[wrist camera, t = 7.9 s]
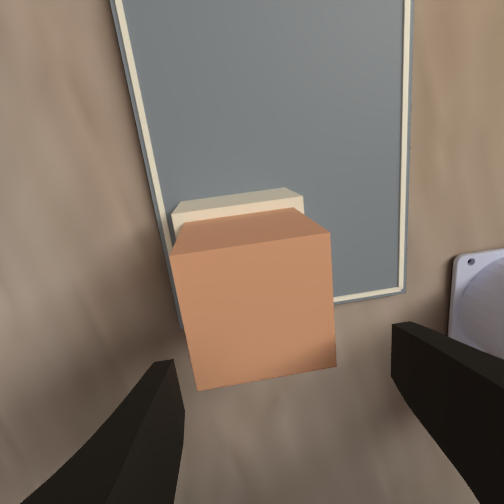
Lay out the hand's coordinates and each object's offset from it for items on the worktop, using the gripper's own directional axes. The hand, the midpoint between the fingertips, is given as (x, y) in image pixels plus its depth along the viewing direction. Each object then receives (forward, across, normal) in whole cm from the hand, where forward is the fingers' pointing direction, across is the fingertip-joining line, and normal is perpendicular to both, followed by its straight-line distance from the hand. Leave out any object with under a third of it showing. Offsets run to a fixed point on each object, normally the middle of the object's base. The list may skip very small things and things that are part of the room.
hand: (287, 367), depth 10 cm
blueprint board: (+10, -2, -7) cm, 12 cm away
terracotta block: (+6, +1, -2) cm, 6 cm away
